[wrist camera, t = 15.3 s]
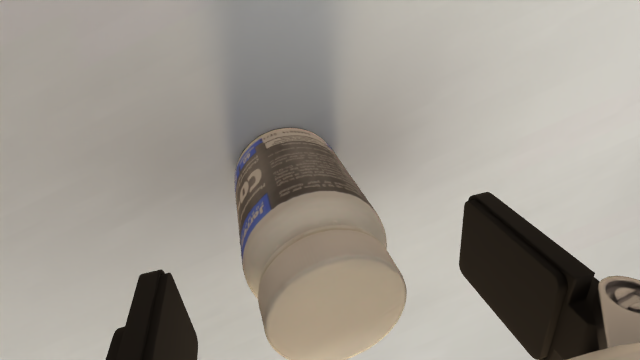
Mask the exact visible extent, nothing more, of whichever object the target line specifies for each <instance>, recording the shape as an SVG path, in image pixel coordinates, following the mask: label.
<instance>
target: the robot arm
mask: <svg viewBox="0 0 640 360" xmlns="http://www.w3.org/2000/svg"><path fill="white" fill-rule="evenodd" d="M459 267H460V270H461V272H462V274H463V275H464V277H465V278H466V279H467V280H468V281H469V283H470V284H471V285H472V286H473V287H474V288H475V290H476V291H477V292H478V293H479V294H480V296H481V297H482V298H483V299H484V300H485V302H486V303H487V304H488V305H489V306H490V308H491V309H492V310H493V311H494V312H495V314H496V315H497V316H498V317H499V318H500V319H501V321H502V322H503V323H504V324H505V325H506V327H507V328H508V329H509V330H510V331H511V333H512V334H513V335H514V336H515V337H516V339H517V340H518V341H519V342H520V343H521V345H522V346H523V347H524V348H525V349H526V350H527V352H528V353H529V354H530V355H531V356H532V357H533V358H534V359H537V360H538V359H539V360H640V280H637V279H634V278H630V277H624V276H609V277H606V278H604V279H602V280H601V281H598V280H597V279H596V278H594V274H595V273H594V272H593V271H592V270H590V269H589V268H588V267H586V266H585V265H584V264H582V263H581V262H580V261H579V260H577V259H576V258H575V257H573V256H572V255H571V254H569V253H568V252H567V251H566V250H564V249H563V248H562V247H560V246H559V245H558V244H556V243H555V242H554V241H552V240H551V239H550V238H549V237H547V236H546V235H545V234H543V233H542V232H541V231H539V230H538V229H537V228H536V227H534V226H533V225H532V224H530V223H529V222H528V221H526V220H525V219H524V218H523V217H521V216H520V215H519V214H517V213H516V212H515V211H513V210H512V209H511V208H510V207H508V206H507V205H506V204H504V203H503V202H502V201H500V200H499V199H498V198H497V197H495V196H494V195H493V194H491V193H489V192H485V193H481V194H477V195H472V196H470V197H469V200H468V201H467V202H466V203H465V206H464V216H463V227H462V238H461V249H460V260H459ZM197 353H198V341H197V335H196V333H195V330H194V328H193V325H192V323H191V320H190V318H189V316H188V313H187V311H186V308H185V306H184V303H183V301H182V299H181V296H180V294H179V291H178V289H177V286H176V284H175V282H174V279H173V277H172V275H171V273H166V274H165V273H164V271H163V270H157V271H153V272H149V273H144V274H141V275H140V276H139V279H138V283H137V286H136V290H135V293H134V297H133V301H132V304H131V308H130V311H129V315H128V318H127V322H126V326H125V327H122V328H118V329H117V330H116V331H115V333H114V335H113V338H112V341H111V344H110V348H109V351H108V354H107V357H106V360H197Z"/></svg>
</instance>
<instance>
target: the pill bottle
mask: <svg viewBox="0 0 640 360" xmlns="http://www.w3.org/2000/svg"><path fill="white" fill-rule="evenodd" d="M235 192H236V204H237V214H238V223H239V235H240V244H241V256H242V265H243V271H244V275H245V278H246V281H247V283H248V286H249V287H250V289H251V291H252V292H253V294H254V295H255V296H256V297H257V298H258V303H259V308H260V311H261V316H262V320H263V325H264V330H265V334H266V337H267V339H268V341H269V343H270V344H271V346H272V347H273V348H274V349H275V351H277V352H278V353H279V354H280V355H282V356H283V357H285V358H287V359H289V360H345V359H348V358H351V357H353V356H355V355H357V354H359V353H361V352H364V351H365V350H367V349H369V348H370V347H372V346H373V345H375V344H376V343H377V342H379V341H380V340H381V339H382V338H384V337H385V336H386V335H387V334H388V333H389V332H390V330H391V329H392V328H393V327H394V325H395V324H396V323H397V321H398V319H399V318H400V316H401V314H402V311H403V309H404V306H405V302H406V285H405V282H404V279H403V276H402V275H401V273H400V271H399V269H398V268H397V266H396V264H395V263H394V261H393V260H392V258H391V256H390V255H389V253H388V252H387V250H386V248H387V243H386V234H385V230H384V227H383V224H382V222H381V220H380V218H379V216H378V214H377V213H376V211H375V210H374V209H373V207H372V205H371V204H370V203H369V202H368V200H367V199H366V197H365V196H364V194H363V193H362V192H361V190H360V189H359V187H358V186H357V184H356V183H355V181H354V180H353V179H352V177H351V176H350V175H349V173H348V172H347V170H346V169H345V167H344V166H343V165H342V163H341V161H340V160H339V159H338V157H337V155H336V154H335V153H334V151H333V150H332V148H331V147H330V146H329V145H328V144H327V143H326V142H325V141H324V140H323V139H322V138H320V137H319V136H318V135H316V134H314V133H312V132H310V131H307V130H303V129H298V128H282V129H276V130H272V131H270V132H268V133H265V134H263V135H261V136H260V137H258V138H257V139H255V140H254V141H253V142H252V143H251V144H250V145H249V146H248V147H247V148H246V149H245V150H244V152H243V153H242V155H241V156H240V158H239V160H238V163H237V166H236V171H235Z"/></svg>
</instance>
